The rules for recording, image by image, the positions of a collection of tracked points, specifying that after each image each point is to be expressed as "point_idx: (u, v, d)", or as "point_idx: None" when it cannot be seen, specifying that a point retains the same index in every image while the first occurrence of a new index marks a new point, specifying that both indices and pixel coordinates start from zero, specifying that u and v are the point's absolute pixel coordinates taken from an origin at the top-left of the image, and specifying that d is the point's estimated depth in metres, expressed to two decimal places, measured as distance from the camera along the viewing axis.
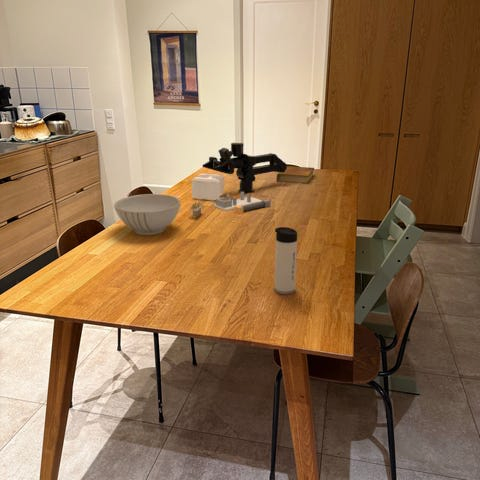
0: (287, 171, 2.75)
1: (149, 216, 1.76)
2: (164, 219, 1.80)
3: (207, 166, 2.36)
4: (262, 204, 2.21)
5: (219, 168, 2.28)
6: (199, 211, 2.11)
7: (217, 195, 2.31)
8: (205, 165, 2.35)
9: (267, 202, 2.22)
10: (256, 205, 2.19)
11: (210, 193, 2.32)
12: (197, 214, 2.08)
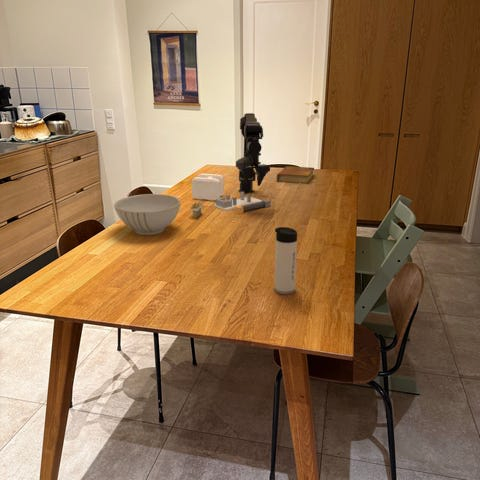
0: (287, 171, 2.75)
1: (149, 216, 1.76)
2: (164, 219, 1.80)
3: (247, 176, 2.18)
4: (262, 204, 2.21)
5: (260, 180, 2.10)
6: (199, 211, 2.11)
7: (217, 195, 2.31)
8: (246, 179, 2.18)
9: (267, 202, 2.22)
10: (256, 205, 2.19)
11: (210, 193, 2.32)
12: (197, 214, 2.08)
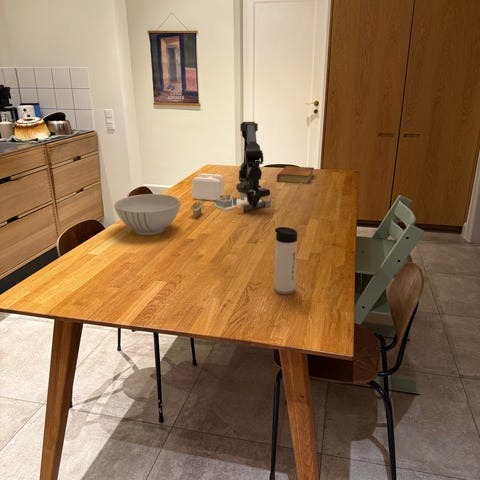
0: (287, 171, 2.75)
1: (149, 216, 1.76)
2: (164, 219, 1.80)
3: (252, 200, 2.20)
4: (262, 204, 2.21)
5: (255, 202, 2.16)
6: (200, 211, 2.11)
7: (217, 195, 2.31)
8: (251, 203, 2.19)
9: (267, 202, 2.22)
10: None
11: (210, 193, 2.32)
12: (197, 214, 2.09)
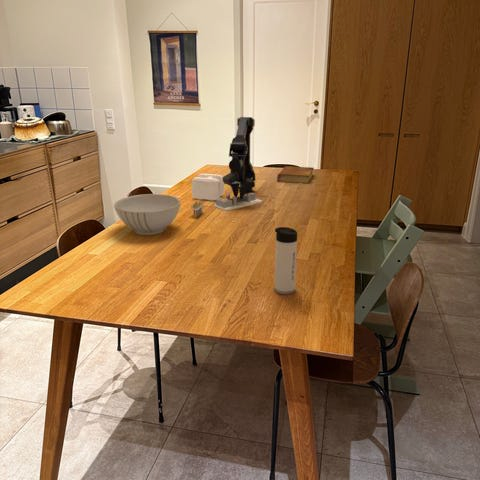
0: (287, 171, 2.75)
1: (149, 216, 1.76)
2: (164, 219, 1.80)
3: (236, 191, 2.28)
4: None
5: (242, 193, 2.23)
6: (200, 210, 2.12)
7: (217, 195, 2.31)
8: (235, 194, 2.28)
9: (252, 195, 2.30)
10: None
11: (210, 193, 2.32)
12: (198, 213, 2.09)
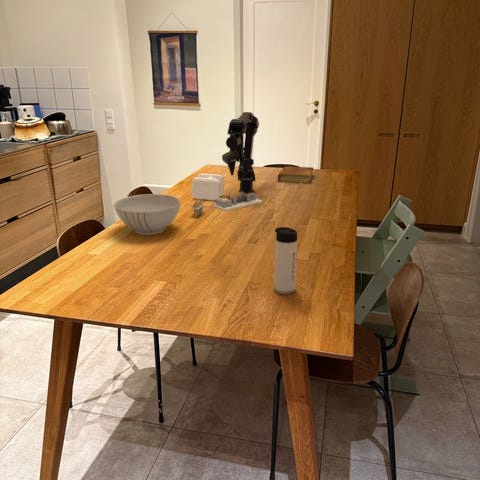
0: (287, 171, 2.75)
1: (149, 216, 1.76)
2: (164, 219, 1.80)
3: (233, 169, 2.34)
4: None
5: (244, 172, 2.26)
6: (200, 210, 2.12)
7: (217, 195, 2.31)
8: (232, 172, 2.34)
9: (252, 195, 2.30)
10: (242, 198, 2.27)
11: (210, 193, 2.32)
12: (198, 213, 2.10)
